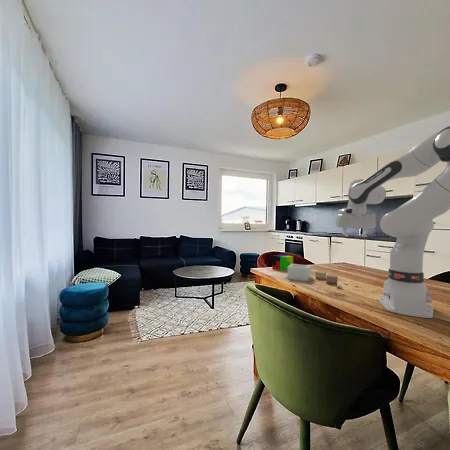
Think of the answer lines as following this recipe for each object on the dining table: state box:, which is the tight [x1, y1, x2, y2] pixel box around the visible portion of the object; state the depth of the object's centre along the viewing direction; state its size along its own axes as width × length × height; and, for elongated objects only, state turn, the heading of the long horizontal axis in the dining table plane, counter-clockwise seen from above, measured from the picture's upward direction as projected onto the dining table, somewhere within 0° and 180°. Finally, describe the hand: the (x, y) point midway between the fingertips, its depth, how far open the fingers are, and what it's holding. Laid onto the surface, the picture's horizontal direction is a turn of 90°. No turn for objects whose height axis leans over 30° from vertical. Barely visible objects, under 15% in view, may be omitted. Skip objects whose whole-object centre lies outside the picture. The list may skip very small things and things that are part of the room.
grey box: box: [286, 263, 312, 282], centre depth 146 cm, size 11×11×7 cm
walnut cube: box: [325, 274, 338, 288], centre depth 135 cm, size 5×5×5 cm
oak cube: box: [314, 270, 327, 281], centre depth 146 cm, size 5×5×5 cm
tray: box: [283, 276, 315, 283], centre depth 146 cm, size 14×14×1 cm
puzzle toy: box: [271, 254, 294, 272], centre depth 175 cm, size 10×10×10 cm
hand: (355, 236), depth 134 cm, fingers open, 8 cm apart
